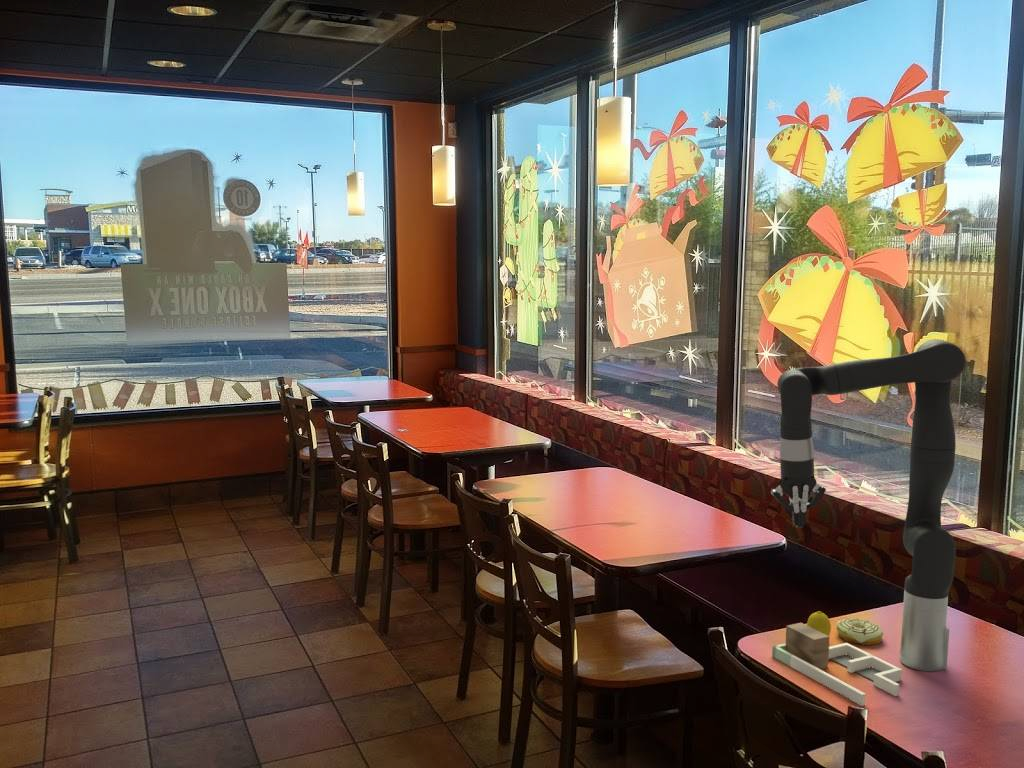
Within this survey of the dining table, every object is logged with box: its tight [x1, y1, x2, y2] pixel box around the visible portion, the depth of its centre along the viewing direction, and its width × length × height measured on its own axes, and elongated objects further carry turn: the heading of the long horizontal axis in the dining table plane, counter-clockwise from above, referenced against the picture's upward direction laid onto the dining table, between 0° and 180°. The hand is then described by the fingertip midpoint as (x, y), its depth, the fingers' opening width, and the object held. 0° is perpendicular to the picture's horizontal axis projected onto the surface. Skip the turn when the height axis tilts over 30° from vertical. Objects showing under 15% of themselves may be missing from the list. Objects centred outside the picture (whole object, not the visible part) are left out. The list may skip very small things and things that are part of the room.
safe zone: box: [771, 642, 793, 667], centre depth 212 cm, size 6×11×2 cm, turn 116°
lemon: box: [806, 610, 832, 637], centre depth 220 cm, size 6×6×8 cm
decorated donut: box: [836, 617, 884, 646], centre depth 224 cm, size 10×11×4 cm
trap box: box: [789, 642, 903, 707], centre depth 202 cm, size 21×18×2 cm
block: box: [785, 622, 830, 670], centre depth 210 cm, size 9×4×8 cm, turn 26°
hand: (799, 526), depth 213 cm, fingers closed
